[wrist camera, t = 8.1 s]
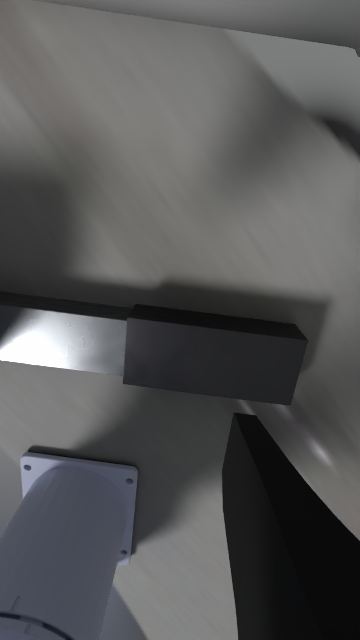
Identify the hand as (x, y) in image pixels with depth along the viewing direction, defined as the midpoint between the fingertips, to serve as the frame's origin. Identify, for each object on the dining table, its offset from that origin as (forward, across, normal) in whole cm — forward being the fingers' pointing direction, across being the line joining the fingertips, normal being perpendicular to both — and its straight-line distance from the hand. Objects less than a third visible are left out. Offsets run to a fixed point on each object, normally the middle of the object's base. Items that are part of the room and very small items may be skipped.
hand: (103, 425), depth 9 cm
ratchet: (+10, +4, +2) cm, 11 cm away
